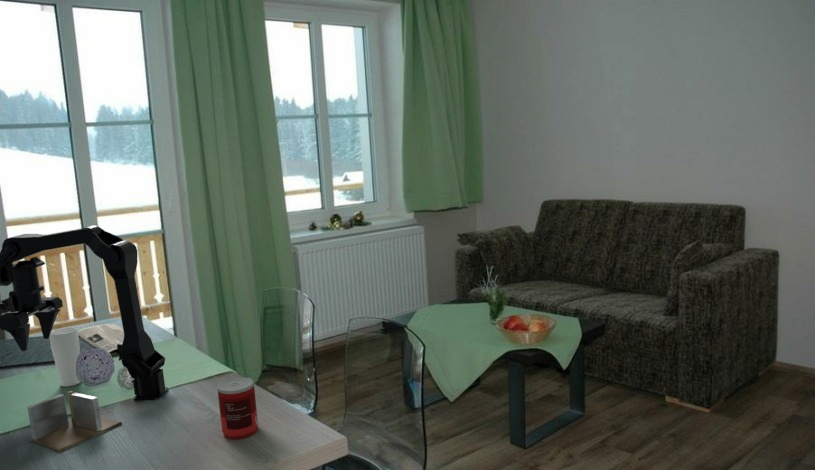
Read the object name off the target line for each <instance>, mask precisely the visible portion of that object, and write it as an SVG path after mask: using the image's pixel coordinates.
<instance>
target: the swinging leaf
mask: <svg viewBox="0 0 815 470" xmlns="http://www.w3.org/2000/svg"><path fill="white" fill-rule="evenodd" d="M71 398H72V404H73V411H74V418H75V424H76V426H79V427H83V428H87V429H91V430H95V431H99V430H101V429H102V425H101V418H100V415H101V413H100V405H99V397H98V396H93V395H89V394H84V393H79V392H74V394H71Z"/></svg>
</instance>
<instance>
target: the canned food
mask: <svg viewBox="0 0 815 470" xmlns="http://www.w3.org/2000/svg"><path fill="white" fill-rule="evenodd" d="M217 398H218V406H219V414H220V422H221V423H220V425H221V430H222V431H221V432H222V434H223V435H224V437H225V438H227V439H229V440H241V439H247V438H248V437H251V436H253V435H254V434H256V432H257V431H258V428H259V420H258V412H257V411H258V410H257V399H256V390H255V383H254V380H253V379H252V378H249V377H241V376H240V377H232V378H228V379H226V380H223V381H221V382H220V383H218V385H217Z"/></svg>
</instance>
